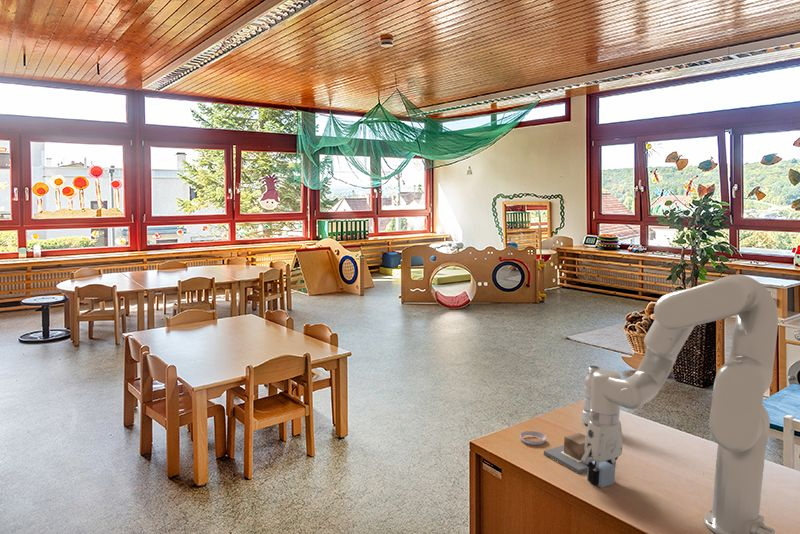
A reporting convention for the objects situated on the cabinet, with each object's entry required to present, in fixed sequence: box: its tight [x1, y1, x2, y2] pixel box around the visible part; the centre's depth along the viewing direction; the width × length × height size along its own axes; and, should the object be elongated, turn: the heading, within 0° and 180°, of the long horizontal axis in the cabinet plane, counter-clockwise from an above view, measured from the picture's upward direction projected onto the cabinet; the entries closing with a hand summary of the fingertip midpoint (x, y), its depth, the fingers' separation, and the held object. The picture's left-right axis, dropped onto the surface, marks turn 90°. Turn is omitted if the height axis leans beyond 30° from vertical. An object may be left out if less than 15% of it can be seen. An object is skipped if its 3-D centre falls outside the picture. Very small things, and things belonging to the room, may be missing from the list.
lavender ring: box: [520, 430, 547, 446], centre depth 186 cm, size 8×8×2 cm
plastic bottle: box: [580, 365, 601, 426], centre depth 199 cm, size 6×7×20 cm
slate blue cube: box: [586, 461, 616, 488], centre depth 160 cm, size 5×5×5 cm
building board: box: [543, 444, 594, 475], centre depth 174 cm, size 14×14×1 cm
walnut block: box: [563, 432, 586, 460], centre depth 174 cm, size 6×6×5 cm
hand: (600, 479), depth 161 cm, fingers closed on slate blue cube, 5 cm apart
